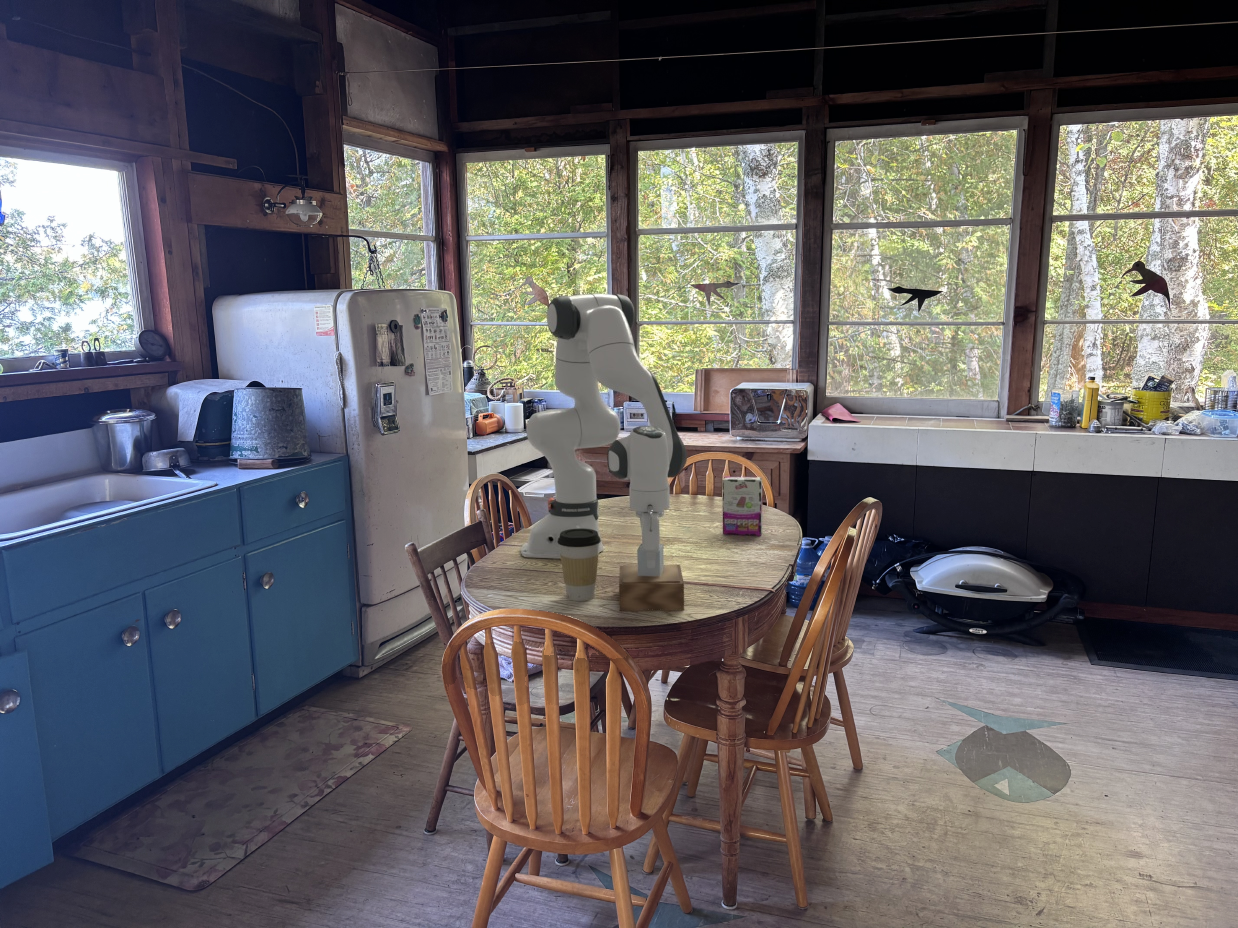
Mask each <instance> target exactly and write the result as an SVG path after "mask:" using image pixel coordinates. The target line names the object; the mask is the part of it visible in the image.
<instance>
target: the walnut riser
mask: <svg viewBox="0 0 1238 928" xmlns="http://www.w3.org/2000/svg"><path fill="white" fill-rule="evenodd" d="M682 572H683V571H682V568H681V564H676V563H675V564H664V570H663V572H662V574H661V576H660V577H655V576H638V564H627V565H626V564H622V565H619V573H618V574H619V576H618V596H619V601H618V602H619V612H634V611H635V612H643V611H644V612H645V611H646V612H647V611H650V612H651V611H652V612H653V611H684V610H685V583H684V577H683V573H682Z"/></svg>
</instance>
